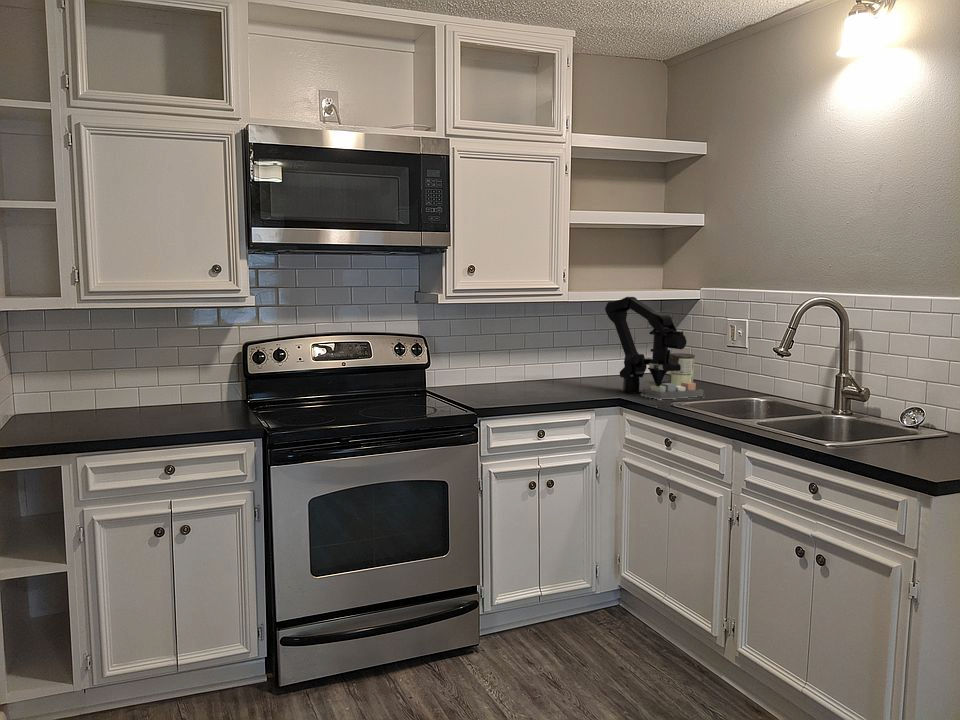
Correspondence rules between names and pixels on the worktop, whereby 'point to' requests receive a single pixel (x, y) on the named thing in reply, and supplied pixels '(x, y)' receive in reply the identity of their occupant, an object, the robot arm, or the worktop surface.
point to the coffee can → (683, 369)
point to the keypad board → (671, 394)
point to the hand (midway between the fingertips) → (658, 386)
